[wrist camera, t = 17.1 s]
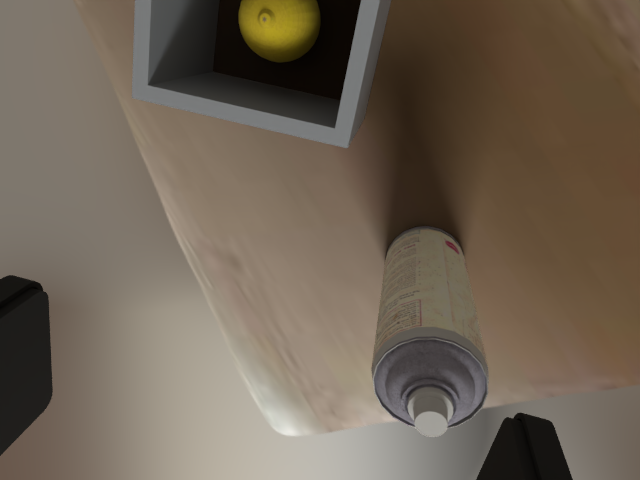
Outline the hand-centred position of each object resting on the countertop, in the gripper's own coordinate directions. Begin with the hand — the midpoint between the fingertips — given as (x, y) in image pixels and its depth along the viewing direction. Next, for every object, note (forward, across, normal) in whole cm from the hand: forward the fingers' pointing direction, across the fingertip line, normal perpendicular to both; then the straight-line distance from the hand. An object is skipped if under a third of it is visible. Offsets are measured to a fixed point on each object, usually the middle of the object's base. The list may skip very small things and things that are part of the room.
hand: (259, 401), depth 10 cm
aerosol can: (+34, -7, +11) cm, 36 cm away
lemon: (+34, +8, -6) cm, 35 cm away
